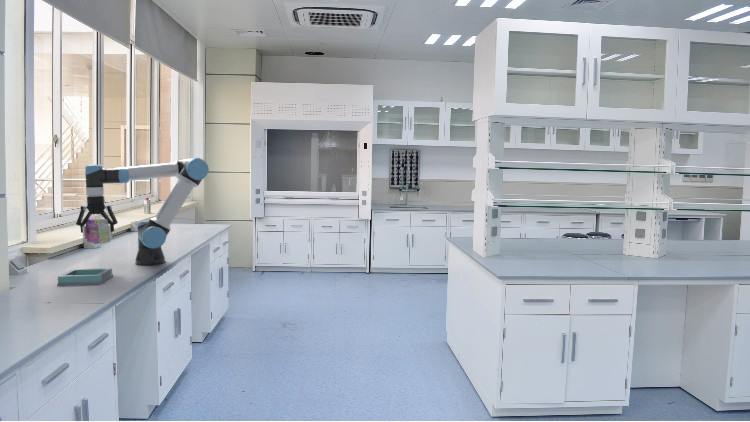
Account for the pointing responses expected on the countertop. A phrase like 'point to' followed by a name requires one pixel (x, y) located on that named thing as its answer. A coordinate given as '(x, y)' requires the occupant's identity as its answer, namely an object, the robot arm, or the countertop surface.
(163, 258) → the robot arm
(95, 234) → the box
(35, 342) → the countertop surface
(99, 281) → the teal square tray
